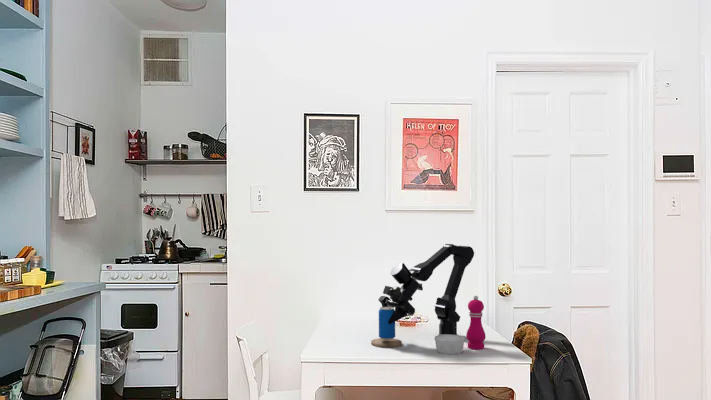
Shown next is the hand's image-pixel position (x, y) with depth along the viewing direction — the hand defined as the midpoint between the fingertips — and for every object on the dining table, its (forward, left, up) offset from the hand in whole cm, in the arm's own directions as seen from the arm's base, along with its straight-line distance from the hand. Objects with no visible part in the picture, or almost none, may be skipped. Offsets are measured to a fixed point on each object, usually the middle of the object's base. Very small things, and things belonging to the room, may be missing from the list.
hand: (384, 321), depth 222 cm
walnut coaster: (-1, 0, -9) cm, 9 cm away
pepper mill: (-33, +13, -9) cm, 37 cm away
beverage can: (-1, 0, -7) cm, 7 cm away
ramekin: (-21, +16, -9) cm, 28 cm away
